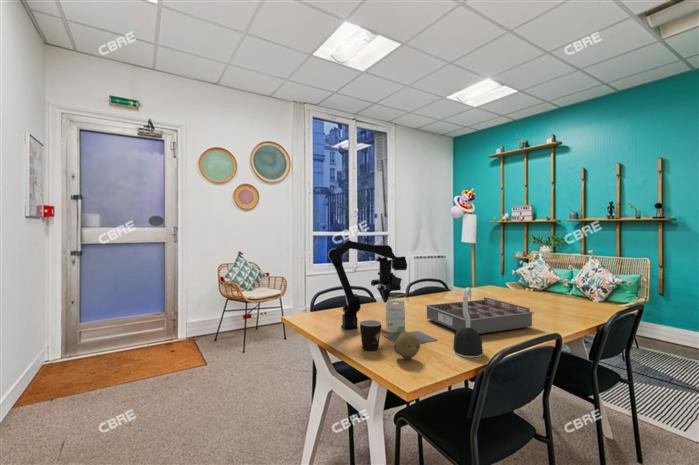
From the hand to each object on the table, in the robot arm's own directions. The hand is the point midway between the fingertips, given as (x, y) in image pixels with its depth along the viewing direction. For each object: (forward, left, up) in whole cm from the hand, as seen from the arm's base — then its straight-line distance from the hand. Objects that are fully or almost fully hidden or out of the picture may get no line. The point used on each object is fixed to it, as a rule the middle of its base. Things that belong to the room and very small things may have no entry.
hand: (385, 302), depth 164 cm
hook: (+10, -44, -12) cm, 47 cm away
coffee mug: (-20, -24, -12) cm, 33 cm away
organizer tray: (+43, -17, -12) cm, 48 cm away
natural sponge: (-15, -40, -12) cm, 44 cm away
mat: (0, -21, -12) cm, 24 cm away
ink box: (0, -9, -12) cm, 15 cm away
